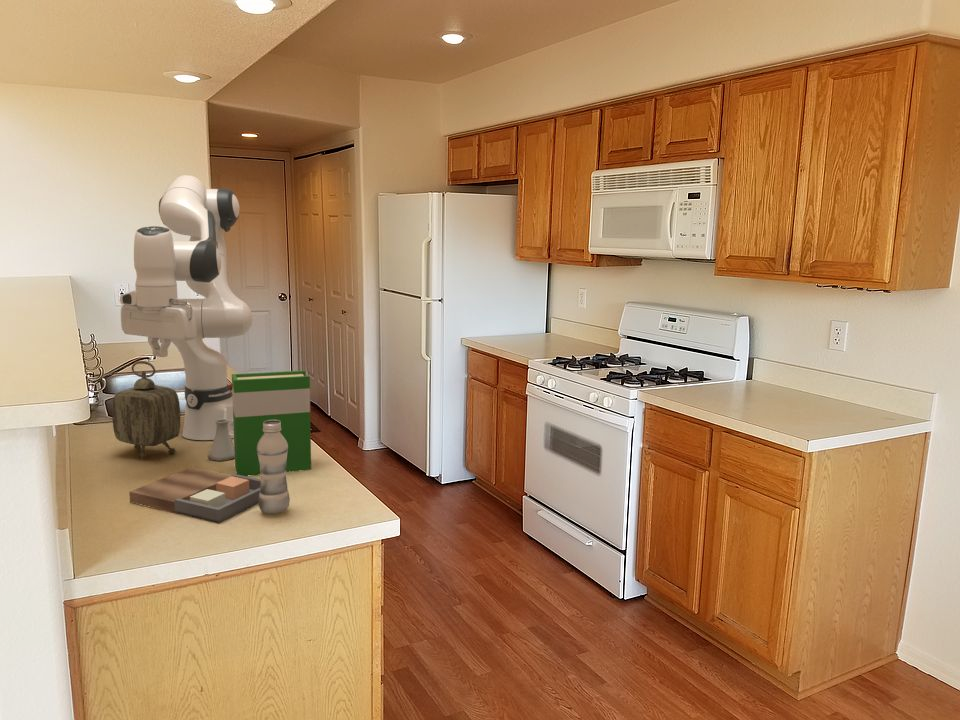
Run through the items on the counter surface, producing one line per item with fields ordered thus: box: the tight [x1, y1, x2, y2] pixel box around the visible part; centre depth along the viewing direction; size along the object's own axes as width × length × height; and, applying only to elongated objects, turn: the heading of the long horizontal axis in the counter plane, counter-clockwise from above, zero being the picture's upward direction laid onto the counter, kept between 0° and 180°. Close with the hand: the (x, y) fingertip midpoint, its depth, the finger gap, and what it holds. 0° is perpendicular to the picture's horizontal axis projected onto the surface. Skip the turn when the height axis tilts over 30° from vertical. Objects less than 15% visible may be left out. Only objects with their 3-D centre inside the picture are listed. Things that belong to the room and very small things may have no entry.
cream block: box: [190, 489, 226, 507], centre depth 157 cm, size 5×5×3 cm
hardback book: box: [231, 370, 312, 477], centre depth 182 cm, size 18×7×24 cm, turn 112°
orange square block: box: [216, 476, 250, 500], centre depth 165 cm, size 5×5×3 cm
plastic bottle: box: [257, 420, 291, 515], centre depth 155 cm, size 6×7×20 cm
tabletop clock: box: [111, 360, 182, 459], centre depth 189 cm, size 14×9×25 cm, turn 75°
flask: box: [207, 419, 235, 462], centre depth 191 cm, size 7×7×10 cm
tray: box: [174, 473, 261, 525], centre depth 161 cm, size 18×12×3 cm, turn 157°
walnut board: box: [129, 466, 232, 514], centre depth 166 cm, size 18×13×2 cm
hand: (160, 356), depth 173 cm, fingers closed
